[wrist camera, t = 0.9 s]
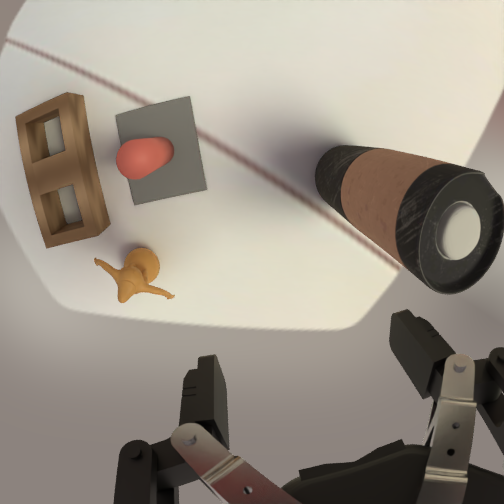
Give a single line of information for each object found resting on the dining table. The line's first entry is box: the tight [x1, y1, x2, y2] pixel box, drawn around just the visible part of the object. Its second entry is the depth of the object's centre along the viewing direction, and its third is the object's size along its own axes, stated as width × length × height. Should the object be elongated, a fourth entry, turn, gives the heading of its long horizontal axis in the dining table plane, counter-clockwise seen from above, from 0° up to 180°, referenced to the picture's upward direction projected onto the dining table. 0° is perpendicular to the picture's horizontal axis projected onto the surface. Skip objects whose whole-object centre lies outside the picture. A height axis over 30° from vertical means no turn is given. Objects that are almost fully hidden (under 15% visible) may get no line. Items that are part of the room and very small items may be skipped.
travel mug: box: [315, 145, 504, 294], centre depth 24 cm, size 8×8×20 cm
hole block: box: [15, 92, 111, 248], centre depth 28 cm, size 15×7×4 cm, turn 9°
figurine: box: [94, 248, 175, 303], centre depth 28 cm, size 8×6×12 cm
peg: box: [116, 137, 174, 179], centre depth 25 cm, size 3×3×10 cm
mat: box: [116, 96, 207, 205], centre depth 30 cm, size 10×8×1 cm
